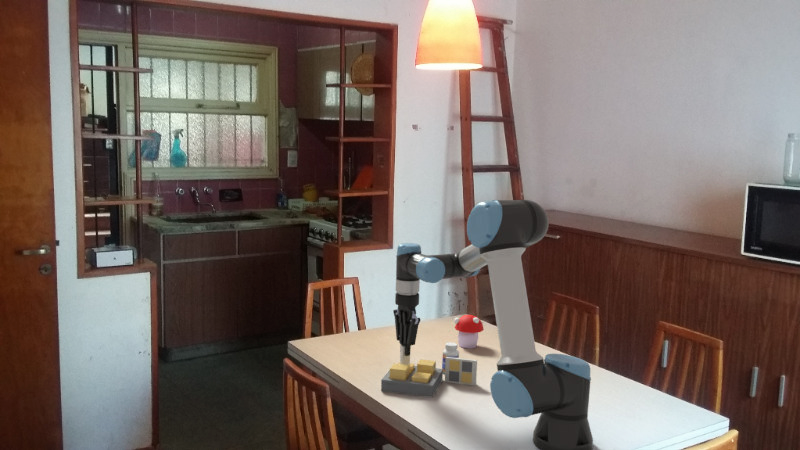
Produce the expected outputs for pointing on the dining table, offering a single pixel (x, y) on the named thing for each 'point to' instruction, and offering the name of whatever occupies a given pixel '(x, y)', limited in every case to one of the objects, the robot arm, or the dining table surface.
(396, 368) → the button
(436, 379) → the board
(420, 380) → the button
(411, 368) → the button
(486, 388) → the dining table surface
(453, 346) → the pill bottle
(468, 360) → the plaque
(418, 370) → the button
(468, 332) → the mushroom
